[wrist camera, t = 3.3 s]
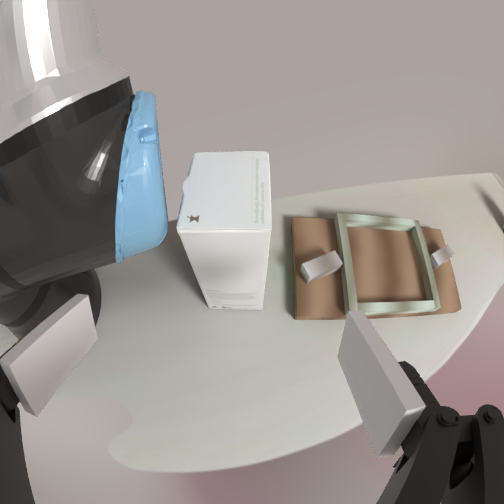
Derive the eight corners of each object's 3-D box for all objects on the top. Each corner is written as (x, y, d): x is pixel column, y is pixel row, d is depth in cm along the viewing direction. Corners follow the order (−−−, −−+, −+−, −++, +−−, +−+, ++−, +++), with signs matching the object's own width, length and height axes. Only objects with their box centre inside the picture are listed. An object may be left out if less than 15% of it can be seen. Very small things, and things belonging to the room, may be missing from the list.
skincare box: (262, 311, 30) (276, 236, 17) (203, 309, 30) (170, 234, 17) (262, 246, 35) (272, 148, 21) (210, 245, 35) (191, 148, 21)
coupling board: (294, 319, 30) (300, 310, 27) (291, 223, 36) (295, 208, 33) (455, 312, 30) (469, 304, 27) (435, 234, 36) (446, 222, 33)
